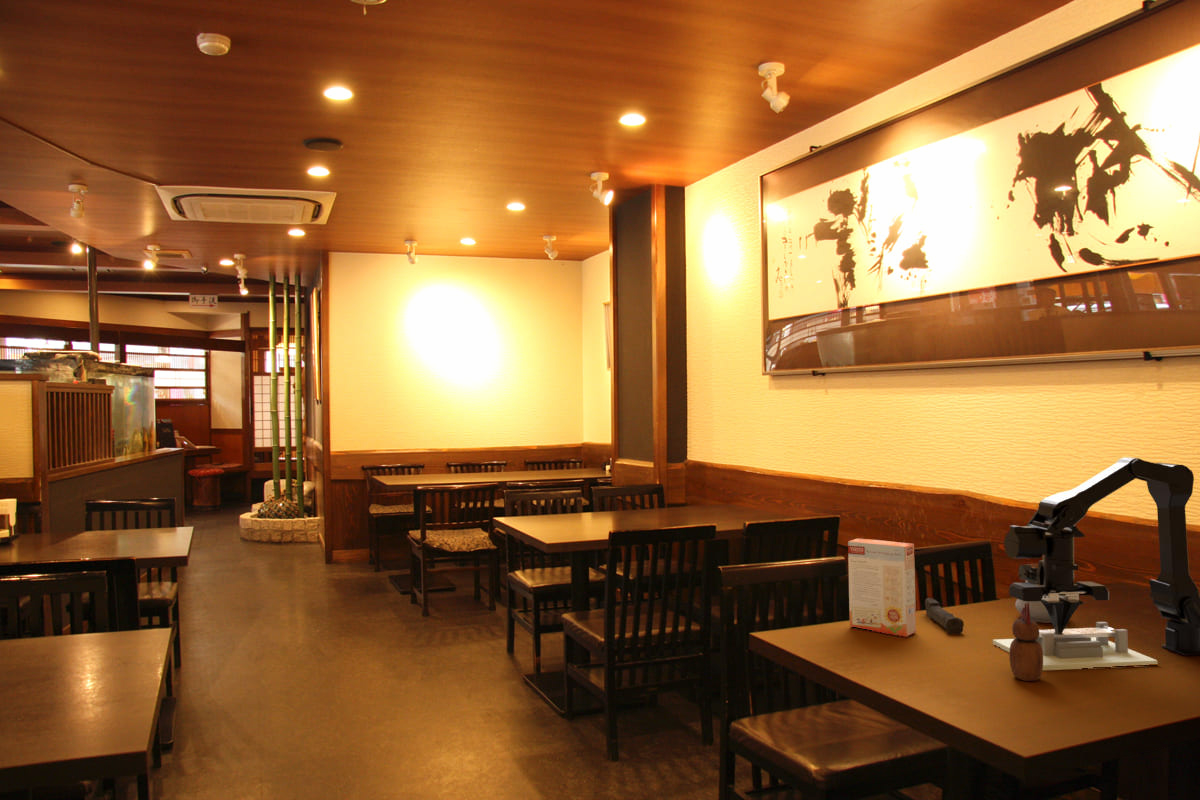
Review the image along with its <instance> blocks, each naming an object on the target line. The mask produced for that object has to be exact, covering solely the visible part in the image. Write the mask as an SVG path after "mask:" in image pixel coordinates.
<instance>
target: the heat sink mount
mask: <svg viewBox="0 0 1200 800" xmlns="http://www.w3.org/2000/svg"><path fill="white" fill-rule="evenodd" d="M1103 626H1108V627H1109V623H1108V622H1106V621H1096V622H1095V628H1102V627H1103ZM1114 629H1115V637H1114V642H1113V641H1110V640H1109V637H1089V638H1064V639H1054V634H1052V633H1042V638H1041V637H1038V638H1037V639H1036V640H1037V641H1038V642H1039V643H1040V645H1041V647H1042V650H1043V669H1042V671H1057V670H1061V671H1063V670H1064V671H1065V670H1082V668H1088V669H1094V668H1093V667H1111V668H1113V667H1112V666H1127V665H1149V664H1158V660H1157V659H1155V658H1152V657H1150V656H1147V655H1145V654H1142V653H1139V652H1138V651H1135V650H1133V649H1130V648H1129V647H1128V646H1129V643H1128V642H1129V641H1128V638H1129V637H1128V629H1124V628H1120V629H1118V628H1117V629H1116V628H1114ZM1014 639H1015V638H1002V639H1001V638H1000V639H999V638H998V639H992V644H993V645H994V646H995V645H996V646H995V647H997V648H999V647H1000V648H999V649H1001V650H1003V651H1005V652H1007V653H1009V652H1010V645H1011V642H1012V641H1013V640H1014Z"/></svg>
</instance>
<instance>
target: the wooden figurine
mask: <svg viewBox="0 0 1200 800" xmlns="http://www.w3.org/2000/svg"><path fill="white" fill-rule="evenodd" d="M1011 630H1012V635H1013V636H1014V638H1013V639H1014V640H1013V641H1012V642H1011V645H1010V652H1008V653H1009V654H1008V656H1009V658H1008V659H1009V666H1010V669H1011V672H1012V675H1013V676H1014V677H1015V678H1017V679H1018V680H1021V681H1024V682H1025V681H1026V682H1034V681H1035V682H1036V681H1037V680H1039V679H1040V678H1041V676H1042V673H1043V670H1042V669H1043V650H1042V647H1041V645H1040V643H1039V642H1038V641H1037V640H1036V639H1037V638H1038V637H1039V630H1040V628H1039V625H1038V622H1036V621H1032V620H1030V609H1029V603H1027V605H1026V603H1025V607H1024V608H1023V611H1021V614H1020V618H1017V619H1015V620H1013V622H1012V628H1011Z"/></svg>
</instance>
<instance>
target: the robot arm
mask: <svg viewBox="0 0 1200 800" xmlns="http://www.w3.org/2000/svg"><path fill="white" fill-rule="evenodd" d="M1136 479H1137V480H1140V481H1142V482H1146V485H1147V491H1148V493H1149V494H1150V496H1151V498H1152V500H1153V501H1154V503H1155V504H1156V510H1157V511H1156V512H1157V530H1158V542H1159V543H1158V545H1159V559H1160V561H1159V563H1160V573H1159V574H1158V576H1157V578H1156V579H1153V578H1152V579H1150V580H1149V586H1150V595H1149V598H1150V599H1152V603H1153V604H1154V606H1155V607H1156V608H1157V609H1158V612H1159V614H1160V616H1161V618H1163V619H1167V620H1166V627H1165V644H1163V643H1162V644H1161V648H1164V649H1166V648H1167V650H1170V651H1172V652H1175V653H1177V654H1180V655H1183V656H1200V591H1199V588H1198V586H1197V585H1196V583H1195V582H1194V580H1193V578H1192V576H1191V575H1190V574H1191V573H1190V566H1189V551H1188V550H1189V549H1188V548H1189V547H1188V536H1187V535H1188V534H1187V519H1186V518H1187V515H1186V505H1187V504H1188V501H1189V500H1190V498H1191V496H1192V495H1193V490H1194V482H1195V476H1194V472H1193V471H1192V470H1191V469H1190V468H1189V467H1188V466H1187V465H1184V464H1176V463H1166V462H1151V461H1147V460H1144V459H1142V458H1139V457H1127V456H1126V457H1125V456H1124V457H1121V458H1119V459H1118V460H1117V461H1116V462H1115V463H1114V464H1112V465H1110V466H1109V467H1106V468H1105V469H1104V470H1102V471H1101V472H1099V473H1097V474H1096V475H1094V476H1093V477H1090V478H1089V479H1088V480H1086V481H1085V482H1083V483H1081V484H1080V485H1078V486H1076V487H1074V488H1072V489H1070V490H1066V491H1061V492H1058V493H1055V494H1052V495H1049V496H1047V497H1045V498H1043V499H1042V500H1041V501H1039V503H1038V507H1037V510H1036V512H1035V513H1034V514H1033V516H1032V517H1031V518H1030V520H1029V521H1028V522H1027V524H1026V525H1025V526H1020V525H1009V531H1007V533H1006V535H1005V538H1004V539H1003V544H1004V545H1003V546H1004V550H1005V554H1006V555H1007V557H1009V558H1010V559H1040V558H1042V560H1038V561H1039V562H1038V563H1037V564H1038V568H1032V567H1031V565H1028V564H1020V565H1019V566H1018V576H1019V580H1020V581H1026V580H1027V581H1028V583H1025V582H1011V584H1010V586H1009V587H1008V588H1009V589H1008V595H1009V596H1010V597H1011V598H1015V599H1016V600H1017V599H1020V600H1022V601H1041V602H1042V604H1043V605H1044V606H1045V608H1046V610H1047V612H1048V614H1049V617H1050V619H1051V622H1052V623H1051V624H1052V627H1053V629H1054V630H1055V632H1058V633H1062V632H1063V630H1064V629H1066V627H1067V626H1068V623H1069V621H1070V620H1071V619H1072V616H1073V615H1074V613H1076V610H1077V609H1078V608H1079V606H1081V605H1083V604H1084V601H1082V600H1080V597H1079V596H1091V597H1092V599H1094V600H1095V601H1109V600H1110V591H1109V589H1108V588H1107V586H1106V585H1103V584H1101V583H1097V582H1094V581H1076V582H1075V571H1079V564H1075V538H1084V537H1085V533H1084V532H1082V531H1081V530H1080V529H1078V527H1077V526H1076V524H1078V523H1079V522H1080V521H1081V520H1082V519H1083V518H1085V516H1086V515H1087V513H1088V511H1089V509H1090V508H1091V507H1092V506H1094V504H1097V503H1098V502H1100V501H1102V500H1103V499H1105V498H1106V497H1108V496H1110V495H1111V494H1113V493H1115V492H1116V491H1118V490H1119V489H1121V488H1122V487H1124V486H1125V485H1127V484H1129V483H1131V482H1132V481H1134V480H1136ZM1034 584H1038V585H1043V587H1039V586H1036V585H1034ZM1051 591H1055V592H1051Z"/></svg>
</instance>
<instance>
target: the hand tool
mask: <svg viewBox="0 0 1200 800" xmlns="http://www.w3.org/2000/svg"><path fill="white" fill-rule="evenodd" d="M924 606H925V607H924V608H925V612H926V616H927V618H928V619H930V620H933V621H935V622H936V623H938V624H939V625H940V626H942V627H943V628H944V629H945V631H946V633H947V634H949V635H960V634H962V633H963V631H964V626H965V623H964V620H963V619H962V618H959V617H955V616H954V614H953V613H952V612H951V613H950V612H948V611H947V610H945V609H944V608H942V606H941V603H940V602H939V601H937V600H936V599H934V598H932V597H928V598H925V600H924Z"/></svg>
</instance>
